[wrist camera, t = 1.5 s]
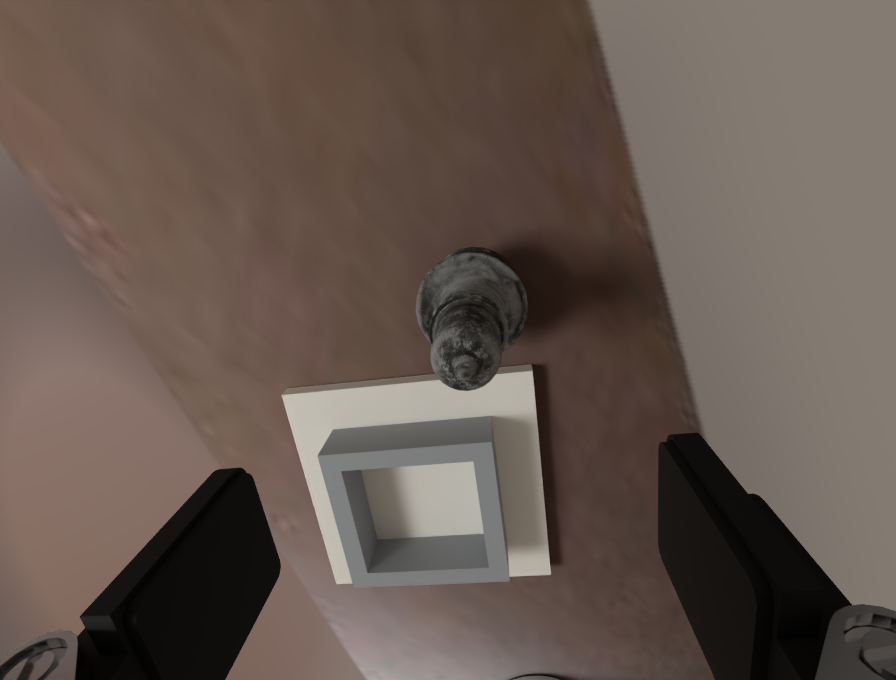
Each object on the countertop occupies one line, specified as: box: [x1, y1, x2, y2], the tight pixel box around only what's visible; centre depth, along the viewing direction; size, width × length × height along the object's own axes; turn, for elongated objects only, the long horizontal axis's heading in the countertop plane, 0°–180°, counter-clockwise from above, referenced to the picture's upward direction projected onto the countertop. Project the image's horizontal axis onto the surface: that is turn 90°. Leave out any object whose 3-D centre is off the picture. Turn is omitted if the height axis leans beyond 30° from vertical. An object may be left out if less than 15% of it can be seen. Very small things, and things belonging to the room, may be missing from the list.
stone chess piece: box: [416, 247, 528, 391], centre depth 22 cm, size 6×6×12 cm
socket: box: [282, 364, 551, 588], centre depth 31 cm, size 16×16×4 cm
